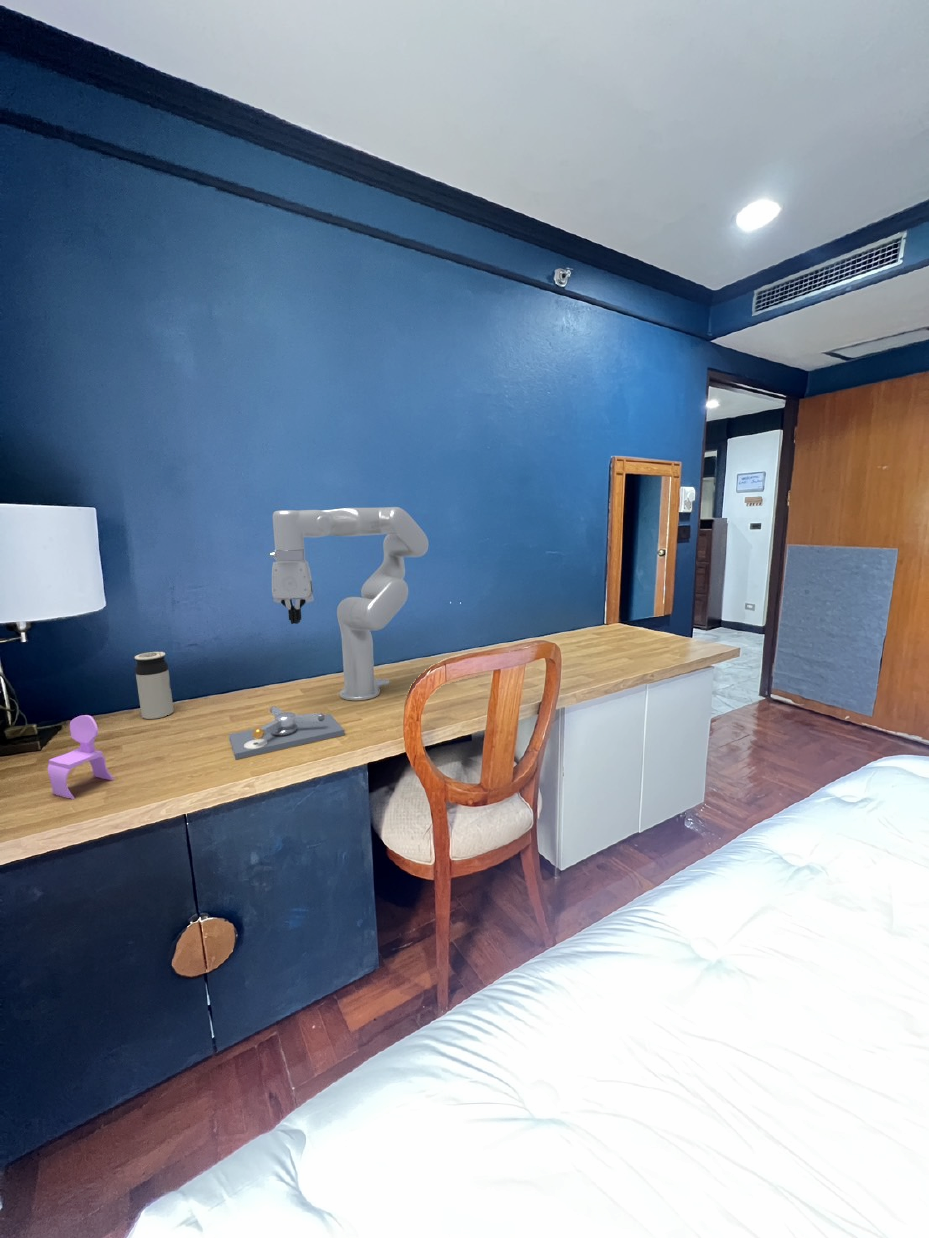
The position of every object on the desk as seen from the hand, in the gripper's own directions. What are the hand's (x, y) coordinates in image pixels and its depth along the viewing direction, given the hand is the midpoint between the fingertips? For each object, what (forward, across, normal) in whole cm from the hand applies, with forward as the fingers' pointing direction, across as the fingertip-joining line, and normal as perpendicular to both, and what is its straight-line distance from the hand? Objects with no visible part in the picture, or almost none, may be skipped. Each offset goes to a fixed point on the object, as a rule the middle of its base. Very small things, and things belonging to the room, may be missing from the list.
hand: (295, 622), depth 138 cm
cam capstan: (+25, -1, -17) cm, 31 cm away
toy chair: (+27, -35, -38) cm, 59 cm away
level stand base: (+27, 0, -16) cm, 31 cm away
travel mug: (+27, -43, +3) cm, 51 cm away
